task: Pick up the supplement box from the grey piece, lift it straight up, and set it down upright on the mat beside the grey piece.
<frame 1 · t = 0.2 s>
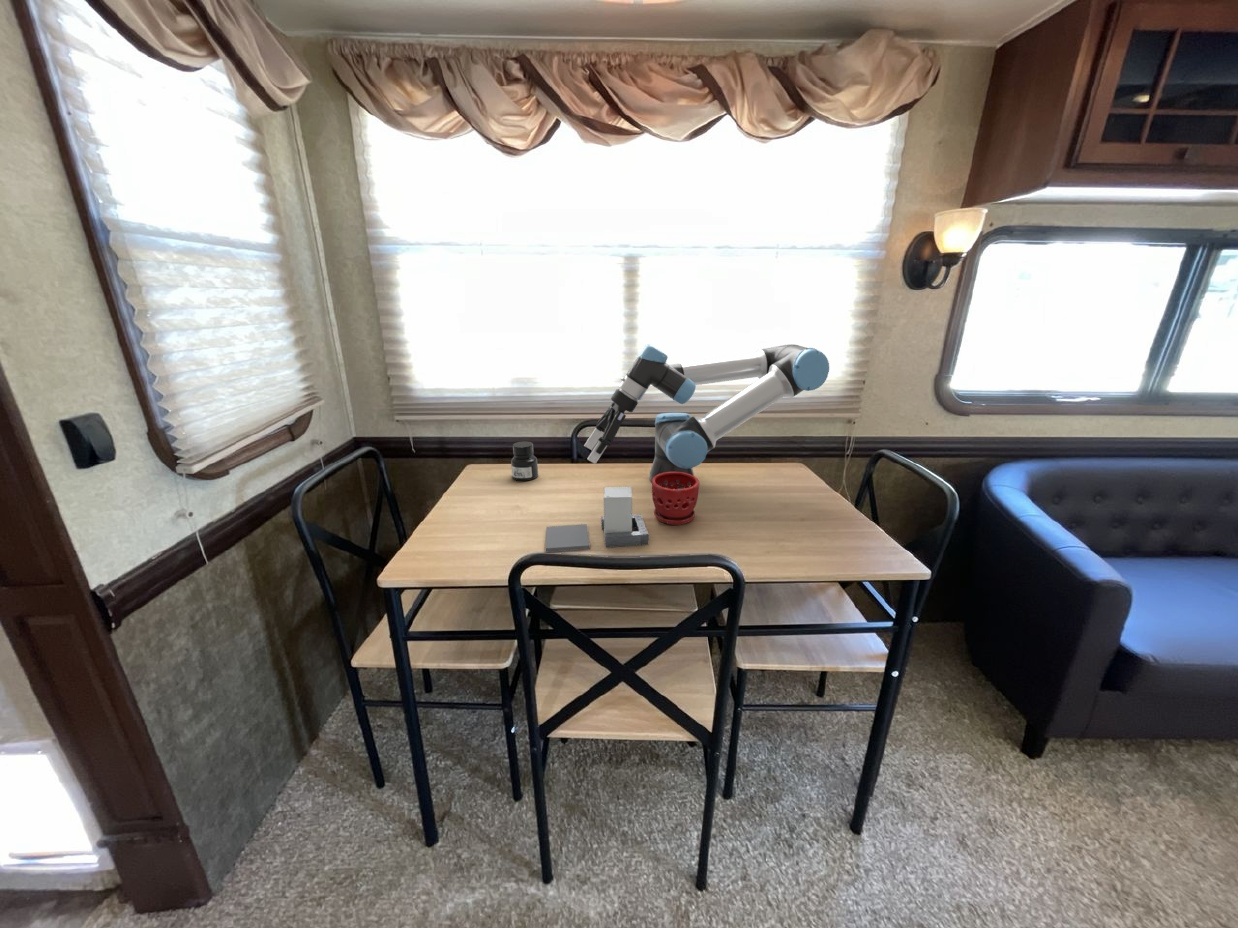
hand: (589, 454, 148), 15 cm above the table, tool tilted 35°, fingers open, 13 cm apart
ink bottle: (525, 477, 173), on the table
mat: (567, 539, 129), on the table
grey piece: (618, 535, 131), on the table
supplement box: (618, 536, 131), on the table
plant pot: (674, 519, 140), on the table
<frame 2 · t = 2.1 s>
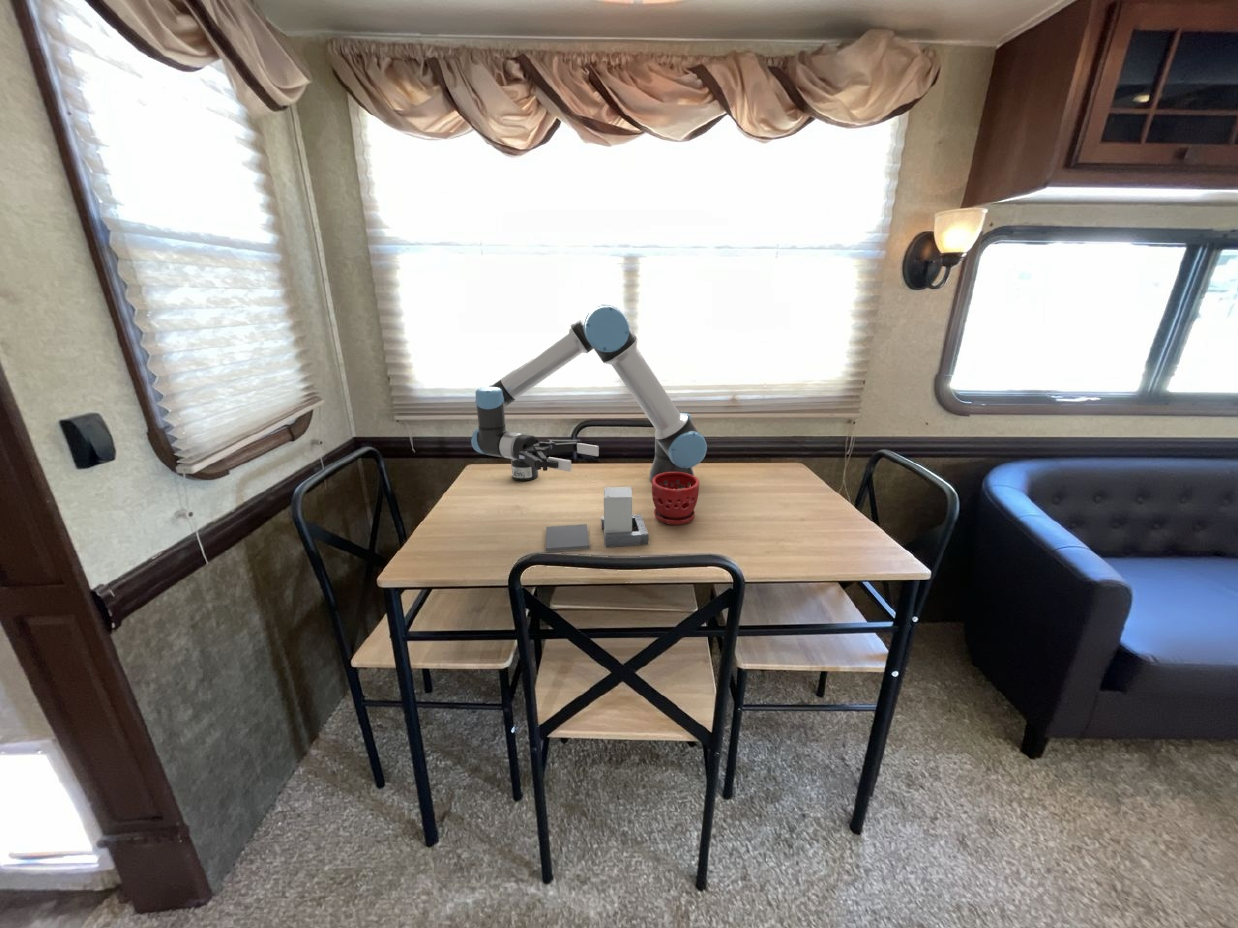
hand: (585, 458, 128), 20 cm above the table, tool horizontal, fingers open, 13 cm apart
nothing on the table moved.
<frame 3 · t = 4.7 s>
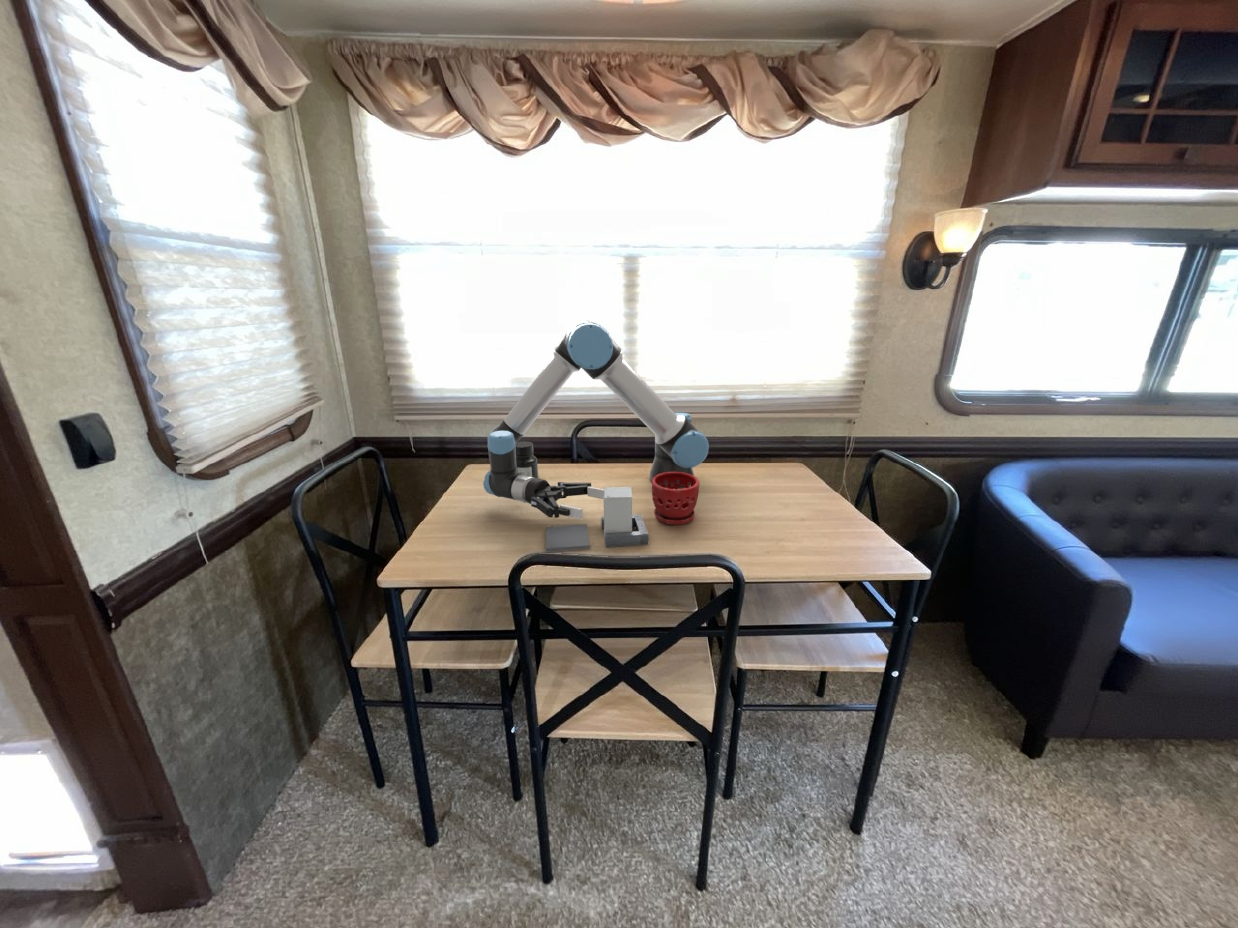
hand: (595, 504, 131), 8 cm above the table, tool horizontal, fingers open, 13 cm apart
nothing on the table moved.
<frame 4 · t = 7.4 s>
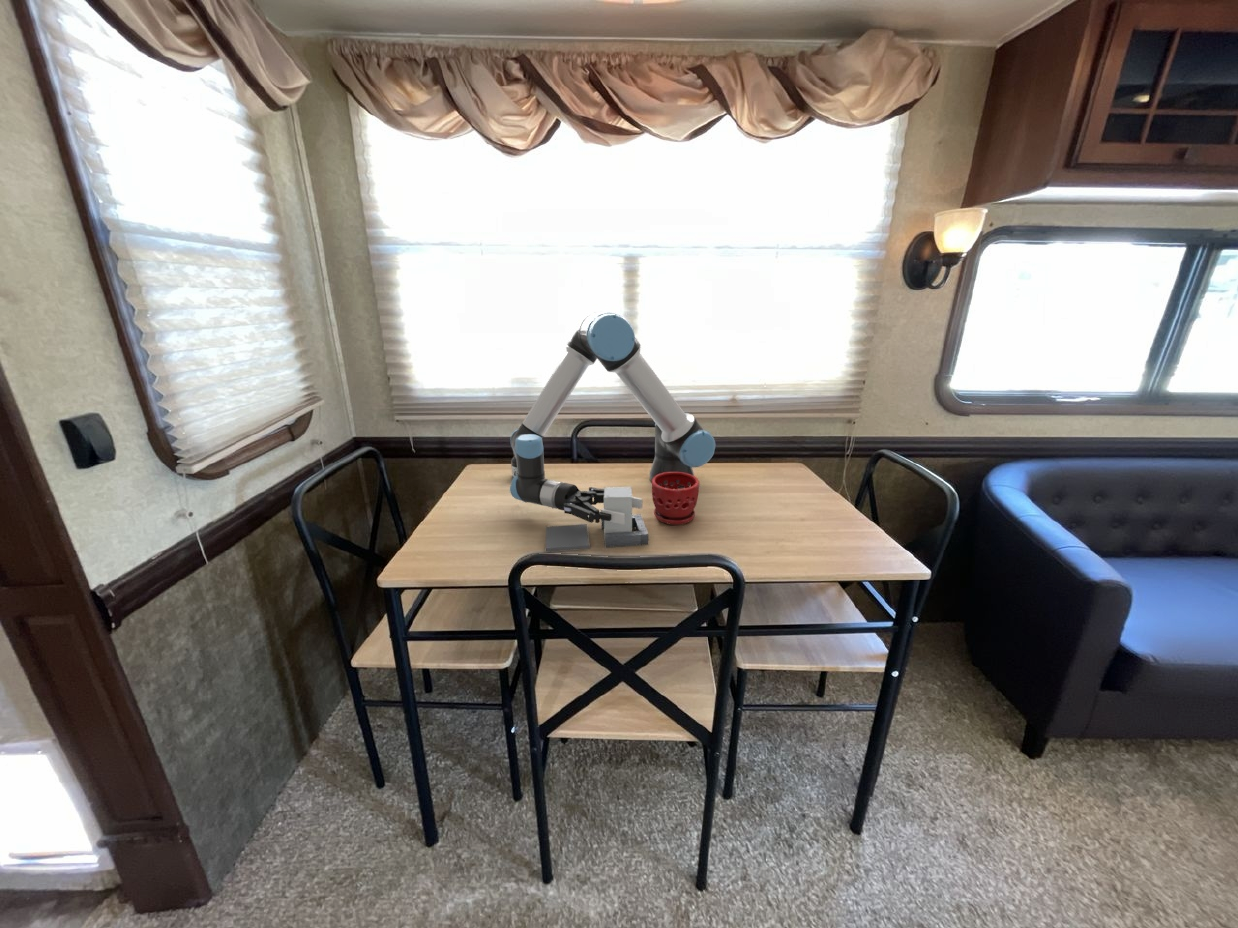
hand: (633, 511, 126), 8 cm above the table, tool horizontal, fingers closed on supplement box, 9 cm apart
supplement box: (618, 536, 131), on the table, touching gripper
everything else where it was.
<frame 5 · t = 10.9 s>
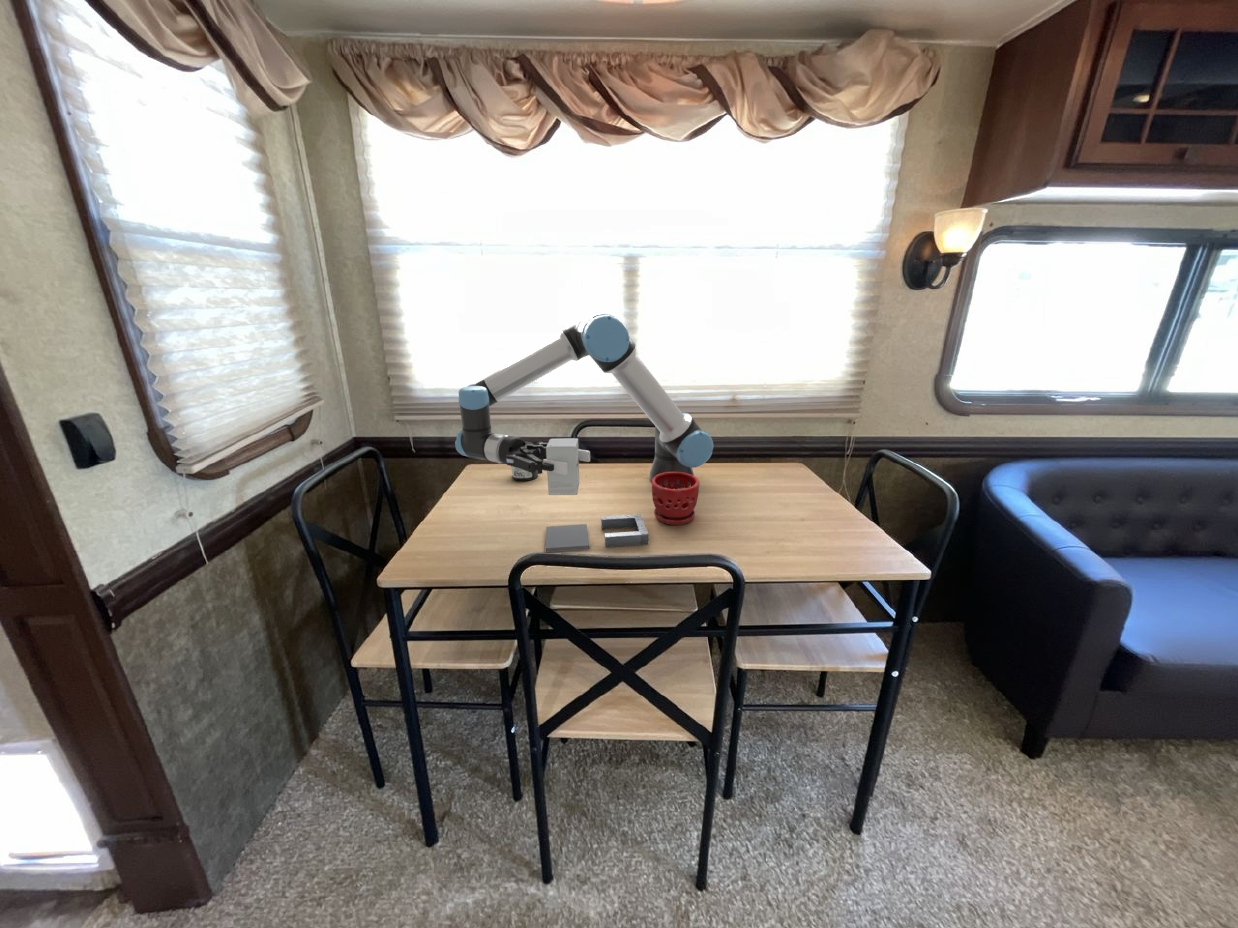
hand: (578, 462, 120), 22 cm above the table, tool horizontal, fingers closed on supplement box, 9 cm apart
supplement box: (564, 490, 125), point 14 cm above the table, touching gripper
everything else where it was.
when the fingers open (10 cm above the table, at t = 14.6 s): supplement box stays where it is, resting on mat.
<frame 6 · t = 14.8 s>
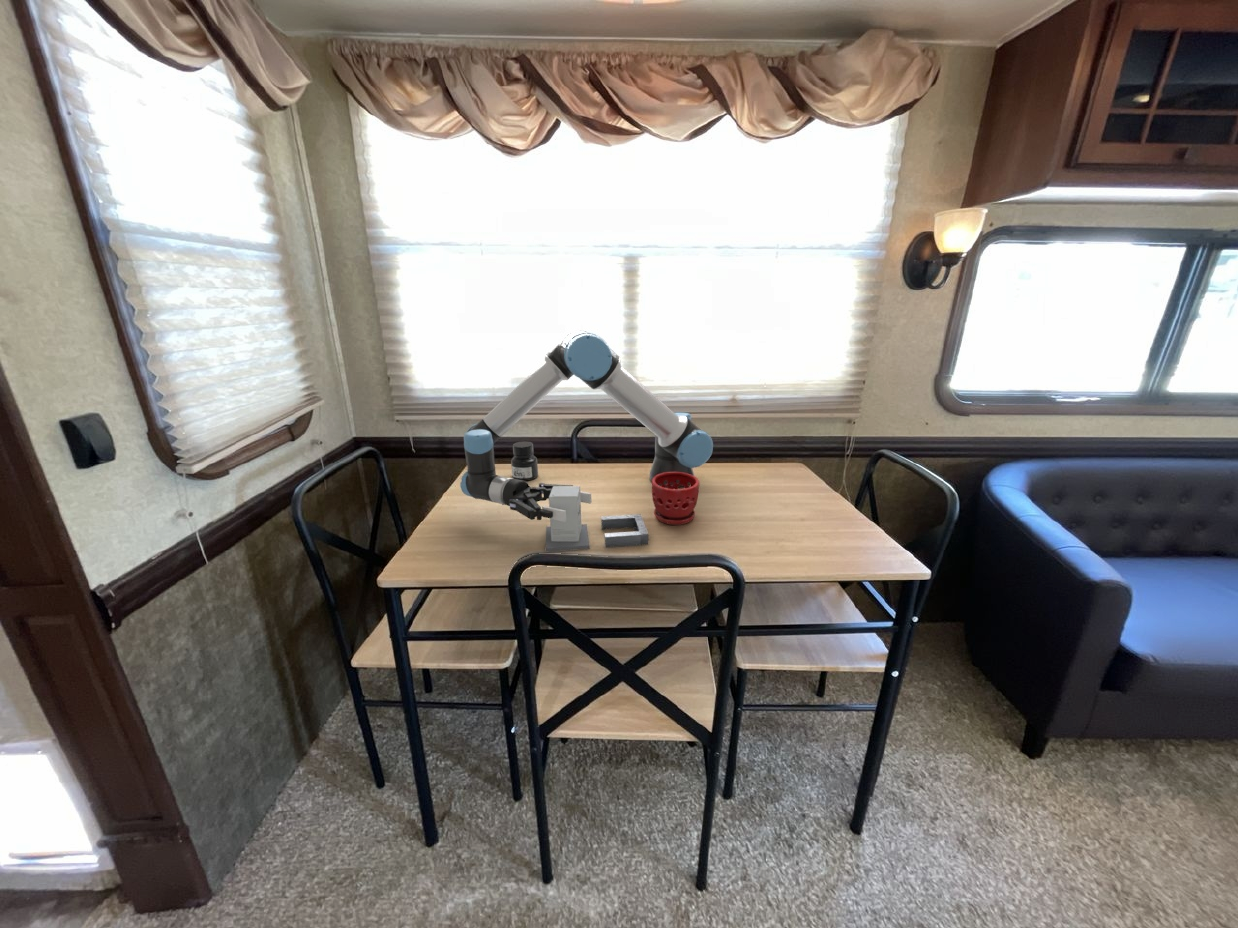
hand: (578, 507, 124), 10 cm above the table, tool horizontal, fingers open, 11 cm apart
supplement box: (567, 536, 129), point 1 cm above the table, touching mat
everything else where it was.
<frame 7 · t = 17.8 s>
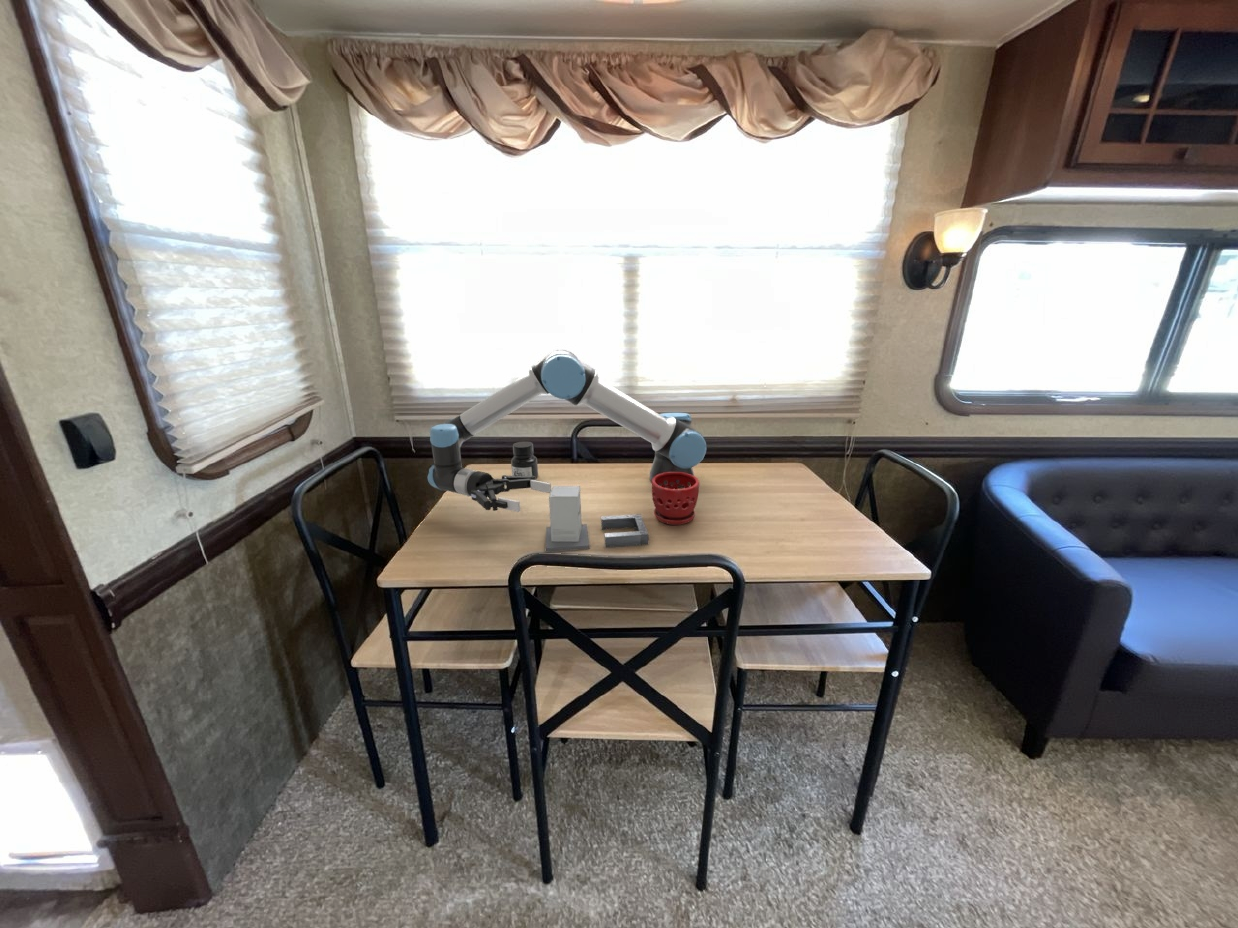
hand: (535, 497, 130), 10 cm above the table, tool horizontal, fingers open, 13 cm apart
nothing on the table moved.
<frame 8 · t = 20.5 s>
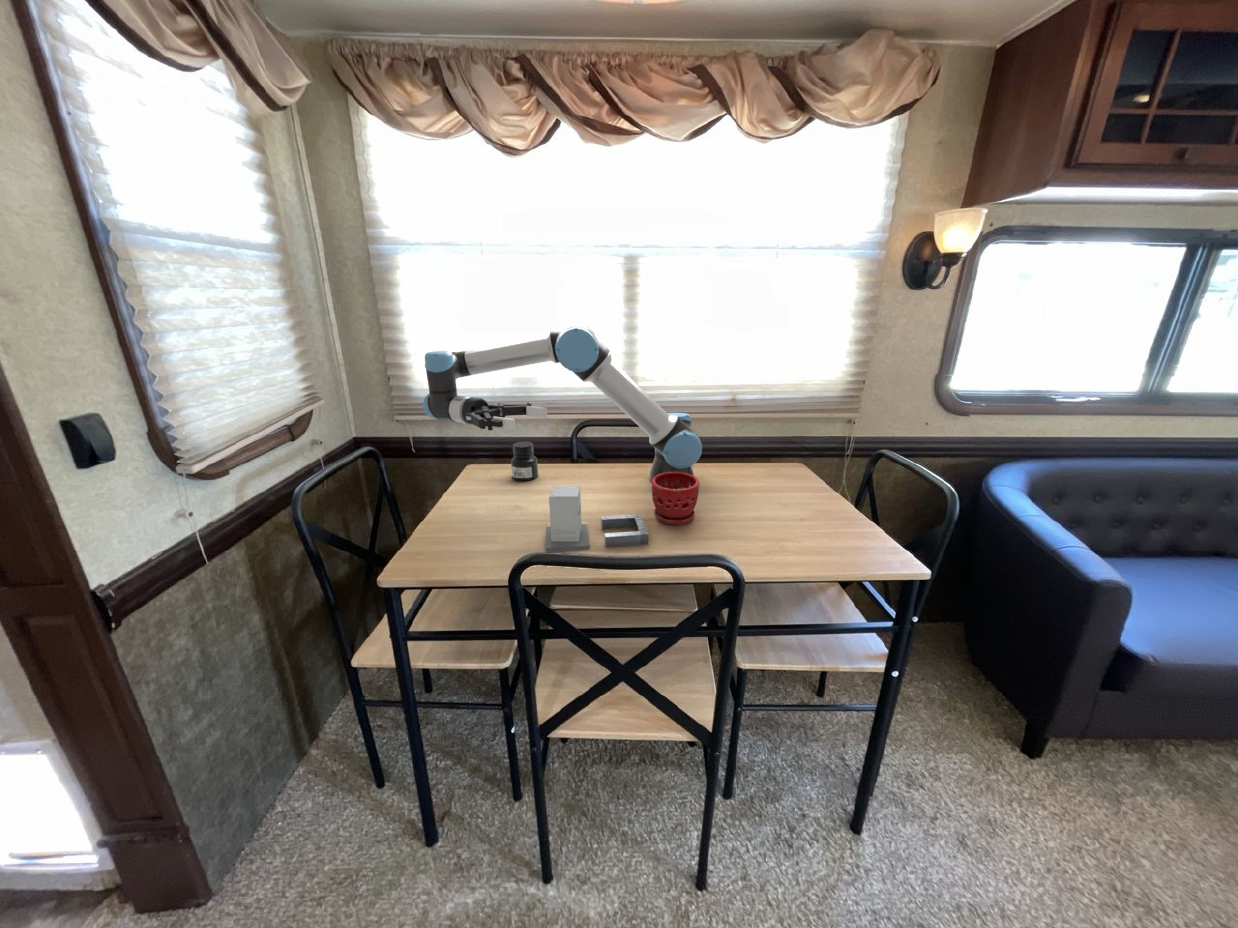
hand: (531, 418, 129), 30 cm above the table, tool horizontal, fingers open, 13 cm apart
nothing on the table moved.
at the end: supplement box inside the target area on the mat (0.1 cm from its centre), point 0.8 cm above the mat's base; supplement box tilted 0°; the gripper is holding nothing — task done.
